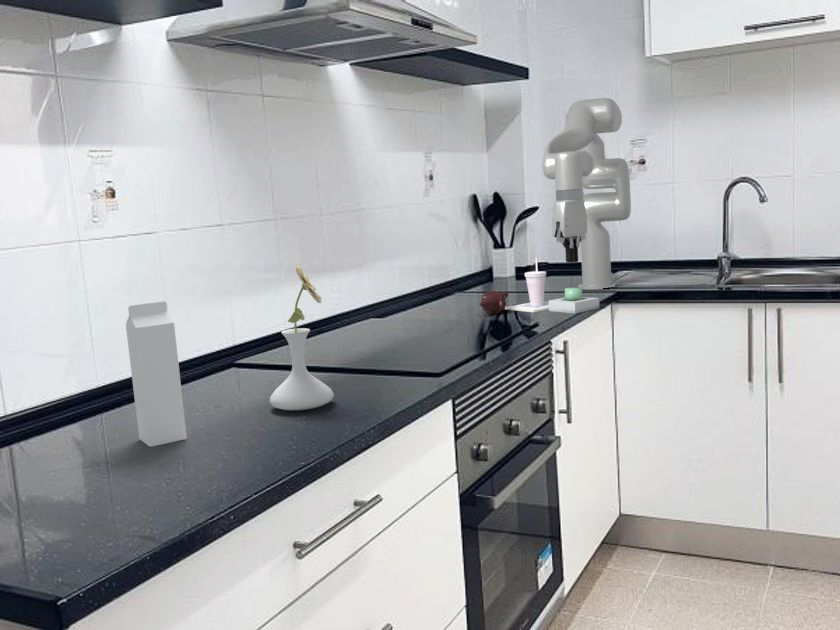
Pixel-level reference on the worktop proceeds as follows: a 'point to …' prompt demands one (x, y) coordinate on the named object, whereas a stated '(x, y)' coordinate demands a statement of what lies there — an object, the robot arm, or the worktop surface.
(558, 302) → the grey square block
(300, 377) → the flower in vase
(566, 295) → the button
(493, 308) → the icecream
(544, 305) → the paper pad
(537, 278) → the smoothie
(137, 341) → the milk
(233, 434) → the worktop surface
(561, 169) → the robot arm
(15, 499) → the worktop surface
